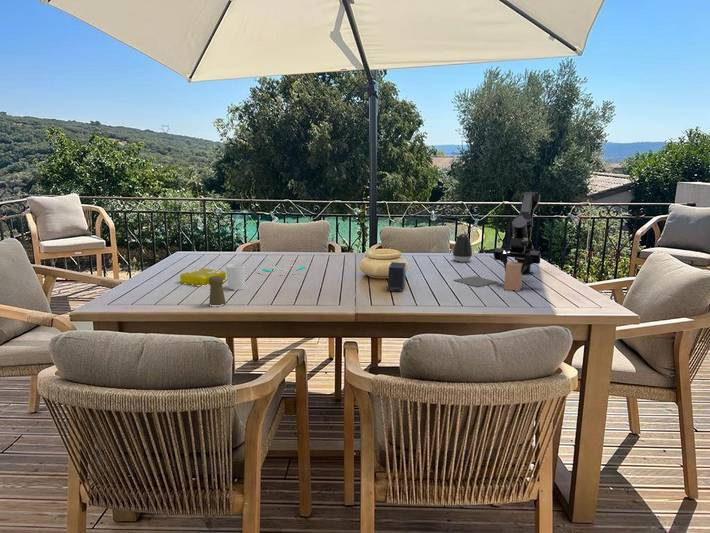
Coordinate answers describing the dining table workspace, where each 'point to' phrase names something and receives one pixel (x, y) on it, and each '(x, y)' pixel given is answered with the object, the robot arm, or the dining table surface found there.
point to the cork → (216, 290)
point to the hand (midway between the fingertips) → (513, 272)
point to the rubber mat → (476, 281)
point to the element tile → (200, 276)
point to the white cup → (236, 276)
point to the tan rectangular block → (513, 276)
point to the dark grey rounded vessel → (462, 248)
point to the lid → (281, 268)
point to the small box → (396, 276)
